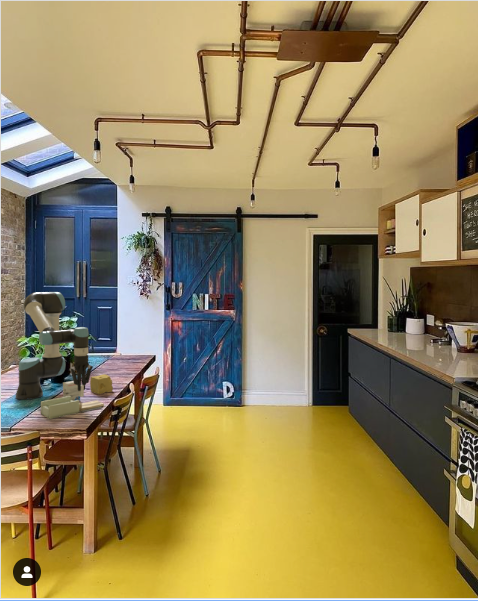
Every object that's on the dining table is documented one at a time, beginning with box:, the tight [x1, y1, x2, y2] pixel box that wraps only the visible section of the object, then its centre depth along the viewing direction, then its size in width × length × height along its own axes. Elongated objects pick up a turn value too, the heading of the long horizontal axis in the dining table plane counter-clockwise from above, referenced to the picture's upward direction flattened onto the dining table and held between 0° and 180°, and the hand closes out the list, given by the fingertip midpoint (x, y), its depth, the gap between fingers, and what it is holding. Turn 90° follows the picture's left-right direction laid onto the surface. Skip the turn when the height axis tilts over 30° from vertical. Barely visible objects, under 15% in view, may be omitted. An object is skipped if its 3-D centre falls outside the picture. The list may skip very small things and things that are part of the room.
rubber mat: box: [79, 406, 103, 413], centre depth 238 cm, size 14×12×1 cm
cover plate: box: [79, 399, 105, 412], centre depth 238 cm, size 9×15×4 cm, turn 134°
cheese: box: [89, 374, 114, 395], centre depth 272 cm, size 10×11×10 cm
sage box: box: [40, 396, 80, 420], centre depth 227 cm, size 12×16×7 cm
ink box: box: [62, 380, 81, 401], centre depth 250 cm, size 9×5×12 cm, turn 141°
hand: (81, 396), depth 235 cm, fingers closed
